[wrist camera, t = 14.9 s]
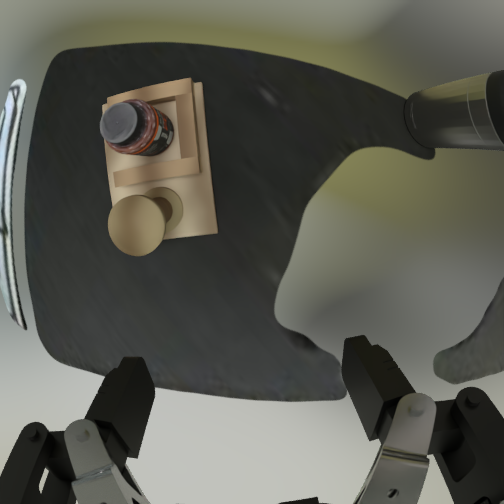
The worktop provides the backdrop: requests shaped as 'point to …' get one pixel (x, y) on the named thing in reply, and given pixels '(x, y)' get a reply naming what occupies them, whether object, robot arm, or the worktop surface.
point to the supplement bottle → (136, 128)
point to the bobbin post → (144, 220)
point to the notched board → (171, 157)
